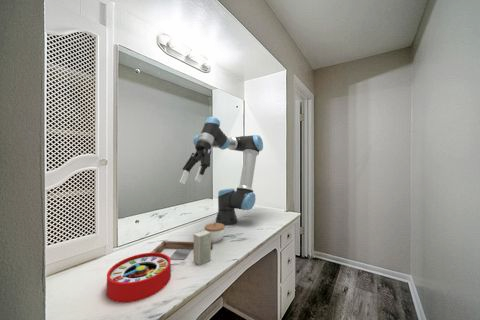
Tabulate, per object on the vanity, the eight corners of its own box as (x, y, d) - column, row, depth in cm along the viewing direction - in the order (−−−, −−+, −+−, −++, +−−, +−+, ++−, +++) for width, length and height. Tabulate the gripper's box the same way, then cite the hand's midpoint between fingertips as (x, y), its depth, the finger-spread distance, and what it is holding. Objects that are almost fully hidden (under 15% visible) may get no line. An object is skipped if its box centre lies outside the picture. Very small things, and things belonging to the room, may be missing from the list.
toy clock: (181, 264, 69) (118, 293, 54) (181, 280, 69) (118, 314, 53) (155, 248, 82) (99, 267, 66) (155, 261, 82) (98, 284, 66)
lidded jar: (221, 245, 97) (221, 226, 97) (201, 243, 99) (201, 225, 99) (226, 237, 107) (226, 220, 108) (208, 235, 110) (208, 219, 110)
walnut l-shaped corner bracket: (163, 247, 95) (163, 241, 95) (212, 248, 93) (212, 242, 93) (145, 264, 79) (145, 257, 79) (204, 266, 77) (204, 259, 77)
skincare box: (205, 256, 85) (205, 229, 85) (211, 260, 82) (211, 232, 82) (192, 262, 81) (192, 233, 81) (198, 266, 78) (198, 236, 78)
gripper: (186, 144, 102) (170, 180, 93) (214, 133, 85) (197, 176, 76) (197, 151, 107) (182, 186, 97) (226, 142, 89) (212, 184, 80)
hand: (189, 182), depth 87 cm, fingers open, 13 cm apart
